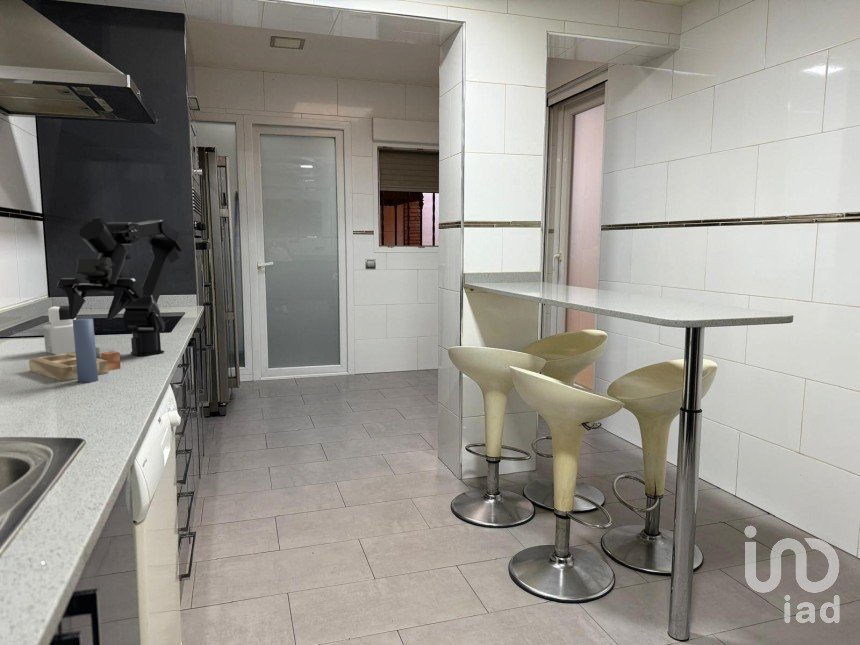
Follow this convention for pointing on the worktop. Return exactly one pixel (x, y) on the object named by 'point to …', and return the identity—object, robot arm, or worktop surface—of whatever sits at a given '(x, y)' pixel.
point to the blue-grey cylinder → (85, 350)
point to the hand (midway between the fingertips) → (90, 318)
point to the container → (59, 331)
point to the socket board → (72, 364)
